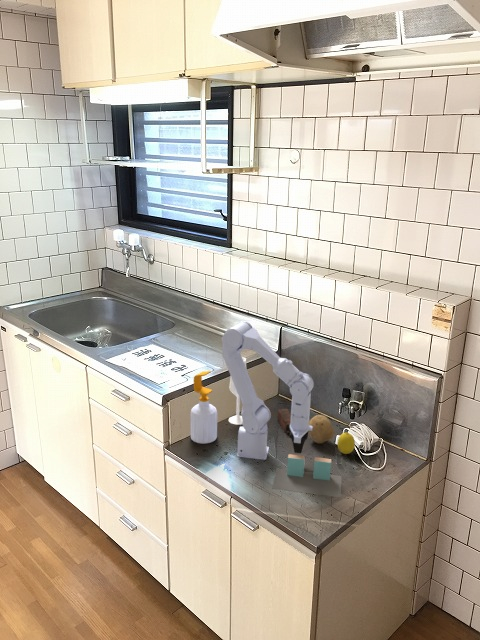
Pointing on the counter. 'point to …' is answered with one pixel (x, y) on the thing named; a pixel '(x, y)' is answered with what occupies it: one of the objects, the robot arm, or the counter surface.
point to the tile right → (322, 468)
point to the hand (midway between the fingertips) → (297, 451)
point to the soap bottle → (203, 414)
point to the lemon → (346, 443)
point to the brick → (284, 419)
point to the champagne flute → (237, 418)
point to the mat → (307, 483)
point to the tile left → (295, 465)
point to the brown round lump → (321, 429)
